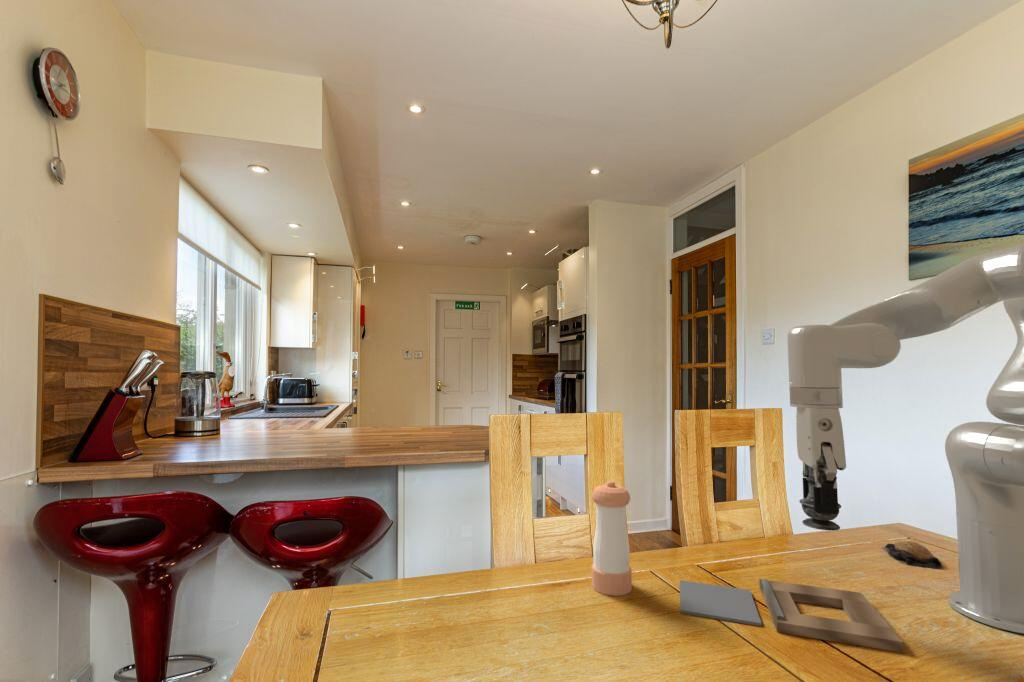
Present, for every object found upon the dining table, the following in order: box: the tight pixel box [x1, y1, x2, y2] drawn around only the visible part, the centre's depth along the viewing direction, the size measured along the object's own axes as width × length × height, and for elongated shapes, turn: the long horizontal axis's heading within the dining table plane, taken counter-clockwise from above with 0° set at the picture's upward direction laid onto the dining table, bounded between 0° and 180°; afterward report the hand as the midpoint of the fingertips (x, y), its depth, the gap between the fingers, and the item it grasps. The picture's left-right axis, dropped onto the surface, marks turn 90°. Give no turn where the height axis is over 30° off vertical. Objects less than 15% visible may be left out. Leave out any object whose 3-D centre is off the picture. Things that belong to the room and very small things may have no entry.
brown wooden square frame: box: [758, 578, 904, 653], centre depth 78 cm, size 16×16×2 cm
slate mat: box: [679, 579, 763, 627], centre depth 82 cm, size 12×12×1 cm
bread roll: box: [881, 540, 945, 570], centre depth 103 cm, size 11×8×4 cm
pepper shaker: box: [591, 480, 633, 596], centre depth 88 cm, size 7×7×19 cm
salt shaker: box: [798, 465, 842, 531], centre depth 79 cm, size 6×6×12 cm
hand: (820, 506), depth 79 cm, fingers closed on salt shaker, 5 cm apart
